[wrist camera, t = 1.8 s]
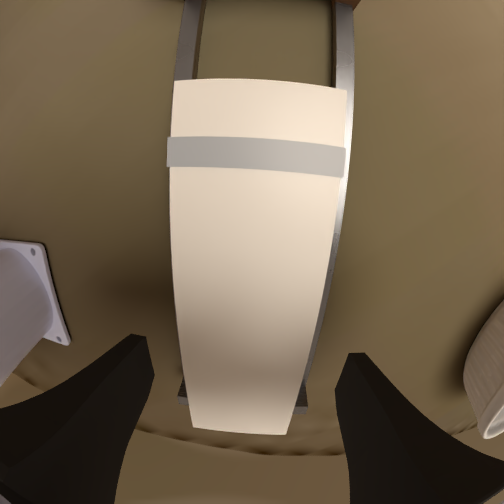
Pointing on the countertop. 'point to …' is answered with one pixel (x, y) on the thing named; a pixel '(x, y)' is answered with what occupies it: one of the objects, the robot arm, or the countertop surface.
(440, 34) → the countertop surface
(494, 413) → the ramekin
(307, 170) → the banded cream case
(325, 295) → the guide channel
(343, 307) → the countertop surface
